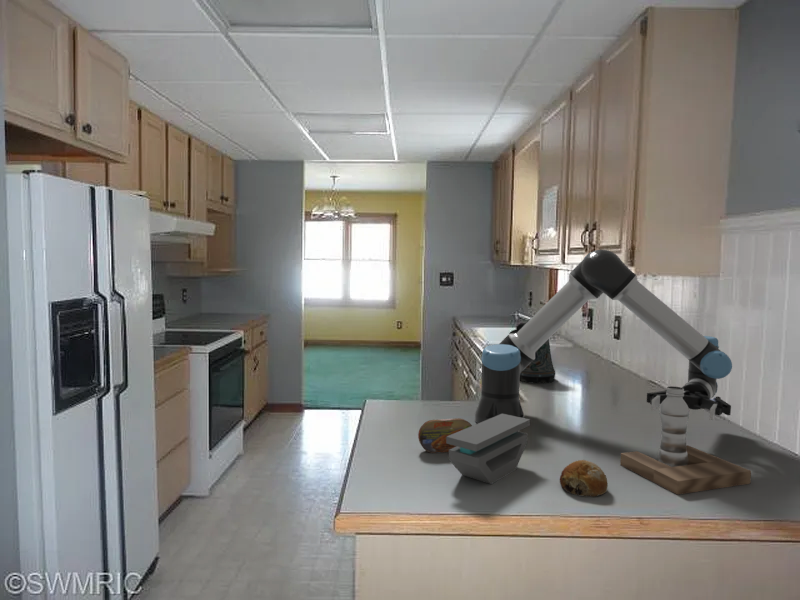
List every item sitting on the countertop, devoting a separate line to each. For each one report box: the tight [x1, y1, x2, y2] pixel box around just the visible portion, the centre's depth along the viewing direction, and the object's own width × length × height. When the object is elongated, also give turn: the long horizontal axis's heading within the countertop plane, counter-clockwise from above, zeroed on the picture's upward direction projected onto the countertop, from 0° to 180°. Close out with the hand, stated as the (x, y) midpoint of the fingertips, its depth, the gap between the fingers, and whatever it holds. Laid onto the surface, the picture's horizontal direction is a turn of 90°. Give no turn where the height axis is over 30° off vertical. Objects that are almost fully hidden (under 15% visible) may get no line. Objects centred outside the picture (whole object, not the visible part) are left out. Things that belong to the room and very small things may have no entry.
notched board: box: [619, 444, 752, 495], centre depth 132 cm, size 21×18×3 cm
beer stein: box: [508, 319, 556, 384], centre depth 234 cm, size 16×19×25 cm
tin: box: [417, 418, 473, 454], centre depth 146 cm, size 15×3×8 cm, turn 101°
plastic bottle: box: [657, 385, 690, 467], centre depth 134 cm, size 6×7×20 cm
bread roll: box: [559, 459, 609, 498], centre depth 123 cm, size 10×10×8 cm
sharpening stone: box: [446, 414, 531, 485], centre depth 131 cm, size 25×8×11 cm, turn 140°
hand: (681, 409), depth 142 cm, fingers open, 13 cm apart
